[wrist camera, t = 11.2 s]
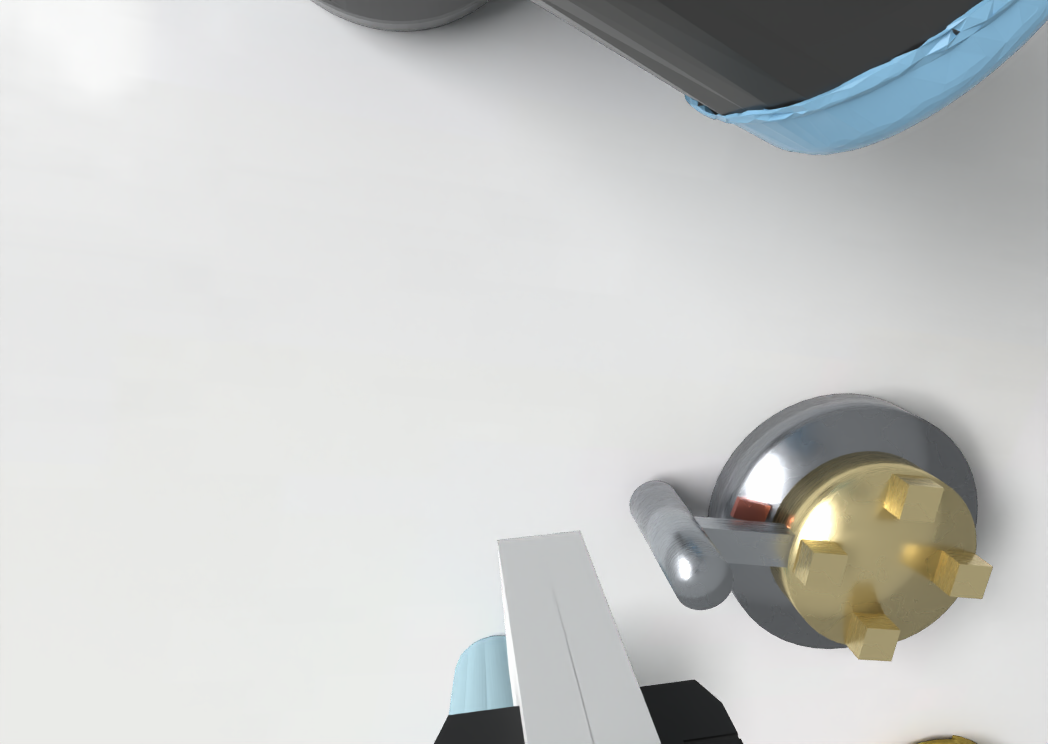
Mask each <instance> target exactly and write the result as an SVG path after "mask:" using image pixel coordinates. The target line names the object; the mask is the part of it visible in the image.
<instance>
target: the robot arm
mask: <svg viewBox="0 0 1048 744" xmlns="http://www.w3.org/2000/svg"><path fill="white" fill-rule="evenodd" d="M311 1H313V2H314V3H316V4H317V5H319V6H320V7H322V8H324V9H325V10H327V11H329V12H331V13H333V14H335V15H337V16H339V17H341V18H343V19H346V20H348V21H351V22H353V23H357V24H360V25H363V26H367V27H371V28H376V29H382V30H391V31H414V30H423V29H429V28H433V27H437V26H441V25H444V24H447V23H450V22H453V21H455V20H457V19H460V18H462V17H464V16H466V15H468V14H470V13H471V12H473V11H475V10H476V9H478V8H479V7H481V6H482V5H484V4H485V3H486V2H487V1H489V0H311ZM530 1H532V2H534V3H535V4H537V5H539V6H540V7H542V8H543V9H545V10H547V11H548V12H550V13H552V14H553V15H555V16H557V17H558V18H560V19H562V20H563V21H565V22H566V23H568V24H570V25H571V26H573V27H575V28H576V29H578V30H580V31H581V32H583V33H585V34H586V35H588V36H590V37H591V38H593V39H594V40H596V41H598V42H599V43H601V44H603V45H604V46H606V47H608V48H609V49H611V50H613V51H614V52H616V53H618V54H619V55H621V56H622V57H624V58H626V59H627V60H629V61H631V62H632V63H634V64H636V65H637V66H639V67H641V68H642V69H644V70H645V71H647V72H649V73H650V74H652V75H654V76H655V77H657V78H659V79H660V80H662V81H664V82H665V83H667V84H669V85H670V86H672V87H673V88H675V89H677V90H678V91H680V92H682V93H683V94H685V99H686V100H687V102H688V103H689V104H690V105H691V106H692V107H694V108H695V109H696V110H697V111H699V112H700V113H702V114H703V115H705V116H707V117H709V118H712V119H718V120H721V121H723V122H725V123H733V124H735V125H737V126H739V127H740V128H742V129H744V130H746V131H748V132H750V133H751V134H753V135H755V136H757V137H759V138H761V139H762V140H764V141H766V142H768V143H770V144H772V145H774V146H776V147H778V148H780V149H783V150H787V151H790V152H793V151H794V152H799V153H805V154H811V155H817V154H821V155H828V154H834V153H840V152H845V151H851V150H855V149H858V148H862V147H865V146H868V145H871V144H874V143H877V142H879V141H882V140H884V139H887V138H889V137H891V136H893V135H896V134H898V133H900V132H902V131H904V130H906V129H908V128H910V127H912V126H914V125H915V124H917V123H919V122H921V121H923V120H924V119H926V118H928V117H930V116H931V115H933V114H934V113H936V112H938V111H939V110H941V109H943V108H944V107H946V106H947V105H949V104H950V103H952V102H953V101H955V100H956V99H958V98H959V97H960V96H962V95H963V94H965V93H966V92H968V91H969V90H970V89H972V88H973V87H974V86H976V85H977V84H978V83H979V82H981V81H982V80H983V79H985V78H986V77H987V76H988V75H990V74H991V73H992V72H993V71H994V70H996V69H997V68H998V67H999V66H1000V65H1002V64H1003V63H1004V62H1005V61H1006V60H1007V59H1008V58H1009V57H1011V56H1012V55H1013V54H1014V53H1015V52H1016V51H1017V50H1018V49H1019V48H1020V47H1022V46H1023V45H1024V44H1025V43H1026V42H1027V41H1028V40H1029V39H1030V38H1031V37H1032V36H1033V35H1034V34H1035V33H1036V32H1037V31H1038V29H1039V28H1040V27H1041V26H1042V25H1043V24H1044V23H1045V22H1046V21H1047V20H1048V0H530ZM497 541H498V552H499V564H500V575H501V586H502V598H503V609H504V621H505V632H506V644H507V655H508V666H509V675H510V683H511V690H512V698H513V705H514V706H513V707H505V708H498V709H490V710H483V711H475V712H468V713H460V714H453V715H448V717H447V719H446V721H445V723H444V725H443V727H442V729H441V731H440V733H439V735H438V737H437V739H436V741H435V743H434V744H743V742H742V740H741V739H739V738H738V733H737V731H736V729H735V727H734V725H733V723H732V721H731V719H730V717H729V716H728V714H727V712H726V710H725V708H724V706H723V704H722V703H721V702H720V701H719V700H718V699H717V698H716V697H714V696H713V695H712V694H711V693H710V692H709V691H707V690H706V689H705V688H704V687H703V686H702V685H700V684H699V683H698V682H697V681H696V680H688V681H681V682H673V683H666V684H658V685H651V686H643V687H639V684H638V682H637V679H636V676H635V674H634V671H633V668H632V666H631V663H630V660H629V658H628V655H627V653H626V650H625V647H624V645H623V642H622V639H621V637H620V634H619V632H618V629H617V626H616V624H615V621H614V618H613V616H612V613H611V610H610V608H609V605H608V603H607V600H606V597H605V595H604V592H603V589H602V587H601V584H600V582H599V579H598V576H597V574H596V571H595V568H594V566H593V563H592V560H591V558H590V555H589V553H588V550H587V547H586V545H585V542H584V539H583V537H582V534H581V532H580V531H573V532H564V533H555V534H547V535H538V536H529V537H521V538H512V539H503V540H497Z"/></svg>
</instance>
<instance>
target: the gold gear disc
mask: <svg viewBox="0 0 1048 744" xmlns="http://www.w3.org/2000/svg"><path fill="white" fill-rule="evenodd" d="M918 744H977V743H975V742H973V741H971V740H969V739H966V738H963V737H959V736H955V735H953V736H952V738H951V739H938V740H931V741H926V742H922V743H918Z"/></svg>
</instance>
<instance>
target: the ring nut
mask: <svg viewBox="0 0 1048 744" xmlns="http://www.w3.org/2000/svg"><path fill="white" fill-rule="evenodd" d="M630 512H631V514H632V516H633V518H634V520H635V522H636V523H637V525H638V527H639V529H640V531H641V533H642V534H643V536H644V538H645V540H646V542H647V543H648V545H649V547H650V549H651V551H652V552H653V554H654V556H655V558H656V560H657V562H658V563H659V565H660V567H661V569H662V571H663V572H664V574H665V576H666V578H667V580H668V581H669V583H670V585H671V587H672V589H673V591H674V592H675V594H676V596H677V598H678V599H679V601H680V602H681V603H682V604H683V605H685V606H686V607H688V608H691V609H695V610H706V609H710V608H713V607H715V606H717V605H719V604H720V603H721V602H723V601H724V600H725V599H726V598H727V596H728V595H729V594H730V592H731V590H732V587H733V583H734V576H733V572H732V569H731V568H730V566H729V565H728V563H733V564H747V565H760V566H770V569H771V573H772V575H773V577H774V580H775V582H776V583H777V585H778V587H779V588H780V590H781V591H782V592H783V593H784V595H785V596H786V597H787V598H788V600H789V601H790V602H791V603H792V605H793V606H794V607H795V608H796V610H797V611H798V612H799V613H800V615H801V616H802V617H803V618H804V619H805V621H806V622H807V623H808V624H809V625H810V626H811V627H812V628H813V629H814V630H816V631H817V632H818V633H819V634H821V635H823V636H824V637H826V638H828V639H830V640H833V641H835V642H837V643H841V644H845V645H847V646H848V648H849V649H850V650H851V651H852V652H853V654H854V655H855V656H856V657H857V658H858V659H861V660H878V661H891V660H892V657H893V654H894V650H895V647H896V644H897V641H900V640H903V639H906V638H908V637H910V636H912V635H914V634H916V633H918V632H920V631H921V630H923V629H925V628H926V627H928V626H929V625H930V624H932V623H933V622H934V621H936V620H937V619H938V618H939V617H940V616H941V615H942V614H944V613H945V612H946V611H947V610H948V608H949V607H950V606H951V605H952V604H953V603H954V601H955V600H956V599H957V597H963V598H977V599H982V598H983V595H984V592H985V589H986V586H987V583H988V580H989V577H990V574H991V571H992V568H993V567H992V566H991V565H990V564H988V563H987V562H986V561H984V560H983V559H981V558H980V557H979V556H977V555H976V554H975V553H976V531H975V525H974V521H973V518H972V515H971V513H970V511H969V509H968V507H967V505H966V504H965V502H964V501H963V499H962V498H961V497H960V496H959V495H958V494H957V493H956V492H955V491H954V490H953V489H952V488H951V487H949V486H948V485H947V484H945V483H944V482H942V481H941V480H939V479H937V478H936V477H934V476H933V475H931V474H929V473H928V472H926V471H925V470H923V469H921V468H920V467H918V466H917V465H915V464H913V463H912V462H910V461H908V460H906V459H904V458H902V457H900V456H897V455H894V454H890V453H885V452H877V451H865V452H855V453H851V454H846V455H843V456H840V457H837V458H834V459H832V460H830V461H827V462H825V463H823V464H821V465H820V466H818V467H817V468H815V469H813V470H812V471H810V472H809V473H808V474H807V475H805V476H804V477H803V478H802V479H801V480H800V481H799V482H798V483H797V484H796V485H795V486H794V487H793V488H792V489H791V490H790V491H789V493H788V494H787V495H786V496H785V498H784V499H783V501H782V503H781V504H780V506H779V508H778V510H777V512H776V514H775V516H774V518H773V521H772V523H770V522H758V521H746V520H734V519H722V518H711V517H699V516H693V515H692V514H691V512H690V511H689V509H688V508H687V507H686V505H685V504H684V503H683V501H682V500H681V498H680V497H679V496H678V494H677V493H676V492H675V490H674V489H673V488H672V487H671V486H670V485H669V484H667V483H665V482H662V481H650V482H647V483H644V484H642V485H641V486H639V487H638V488H637V489H636V490H635V492H634V493H633V495H632V497H631V499H630Z"/></svg>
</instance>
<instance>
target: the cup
mask: <svg viewBox="0 0 1048 744" xmlns="http://www.w3.org/2000/svg"><path fill="white" fill-rule="evenodd" d="M513 706H514V705H513V698H512V690H511V683H510V675H509V666H508V655H507V644H506V636H491V637H488V638H484V639H482V640H479V641H477V642H475V643H474V644H472V645H471V646H470V647H469V648H468V649H467V650H465V651H464V653H463V654H462V655H461V657H460V659H459V661H458V664H457V666H456V669H455V675H454V681H453V688H452V696H451V703H450V710H449V715H453V714H460V713H468V712H475V711H483V710H490V709H498V708H505V707H513Z"/></svg>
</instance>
